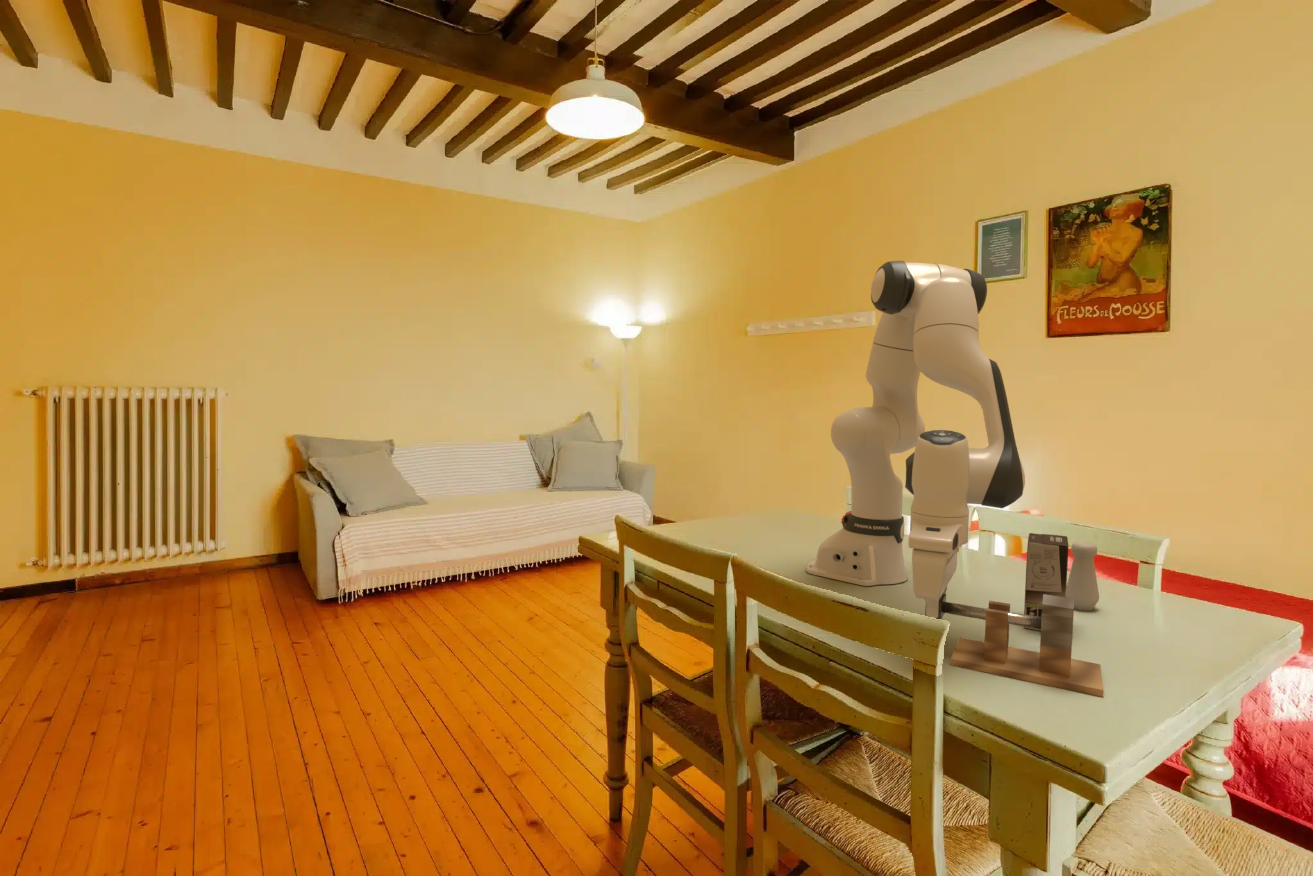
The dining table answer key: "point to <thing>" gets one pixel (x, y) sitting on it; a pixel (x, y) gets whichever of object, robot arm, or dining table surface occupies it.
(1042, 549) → the coffee box
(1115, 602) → the dining table surface
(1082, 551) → the salt shaker
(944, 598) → the grey block-headed metal pin
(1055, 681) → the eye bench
